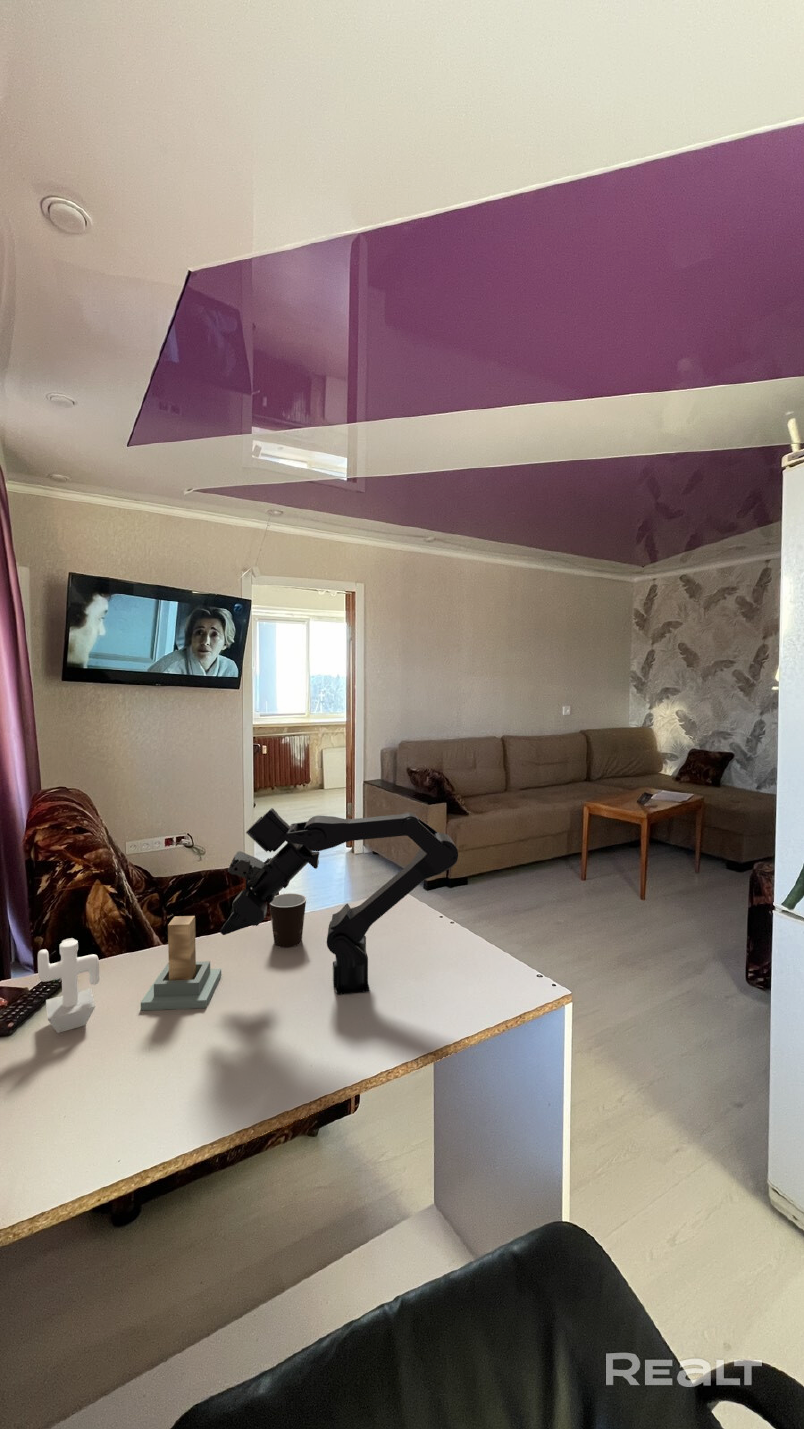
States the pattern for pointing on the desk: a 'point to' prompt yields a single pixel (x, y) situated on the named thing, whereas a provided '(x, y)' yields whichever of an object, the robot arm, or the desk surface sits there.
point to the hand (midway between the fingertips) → (227, 923)
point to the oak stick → (182, 948)
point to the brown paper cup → (287, 919)
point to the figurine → (69, 986)
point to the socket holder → (182, 990)
